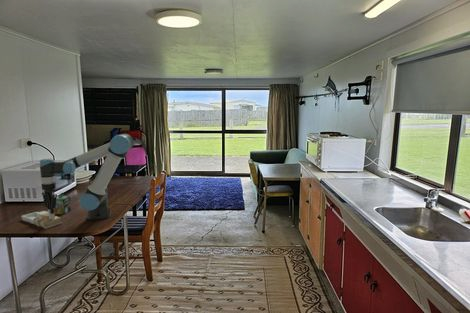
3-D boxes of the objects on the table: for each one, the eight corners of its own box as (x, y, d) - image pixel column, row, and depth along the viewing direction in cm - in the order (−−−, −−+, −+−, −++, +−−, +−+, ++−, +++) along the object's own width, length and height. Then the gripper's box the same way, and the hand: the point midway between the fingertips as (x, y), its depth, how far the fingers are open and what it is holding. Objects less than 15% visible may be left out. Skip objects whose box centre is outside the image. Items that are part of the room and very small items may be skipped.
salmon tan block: (55, 218, 193) (54, 213, 193) (47, 220, 189) (46, 216, 189) (49, 216, 196) (49, 212, 196) (41, 219, 192) (41, 214, 191)
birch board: (61, 223, 195) (61, 217, 194) (46, 228, 186) (45, 222, 186) (49, 219, 202) (49, 214, 201) (34, 224, 193) (33, 218, 192)
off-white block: (49, 216, 196) (49, 212, 196) (42, 218, 192) (41, 214, 192) (44, 215, 199) (44, 210, 199) (36, 217, 195) (36, 213, 194)
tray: (49, 219, 202) (49, 215, 201) (33, 224, 193) (33, 220, 193) (37, 215, 209) (36, 211, 209) (21, 220, 201) (21, 215, 200)
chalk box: (59, 210, 221) (57, 191, 219) (71, 210, 221) (69, 191, 219) (51, 214, 212) (50, 194, 210) (64, 214, 212) (62, 194, 210)
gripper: (60, 183, 187) (63, 218, 191) (48, 180, 194) (51, 214, 197) (48, 185, 181) (51, 221, 184) (36, 182, 187) (39, 218, 190)
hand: (51, 218), depth 191 cm, fingers closed
